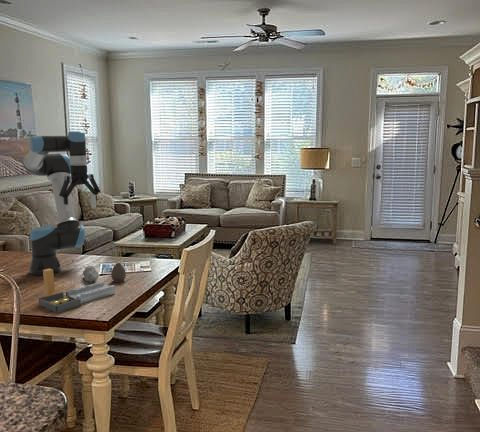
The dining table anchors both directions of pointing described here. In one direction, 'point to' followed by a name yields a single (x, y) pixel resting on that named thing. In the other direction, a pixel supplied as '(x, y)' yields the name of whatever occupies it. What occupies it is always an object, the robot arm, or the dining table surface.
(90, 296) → the slot rail
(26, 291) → the dining table surface
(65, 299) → the gold domed disc
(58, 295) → the tray
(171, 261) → the dining table surface
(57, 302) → the gold domed disc
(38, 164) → the robot arm
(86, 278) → the mineral specimen
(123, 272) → the vase
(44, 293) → the orange l-shaped bar
